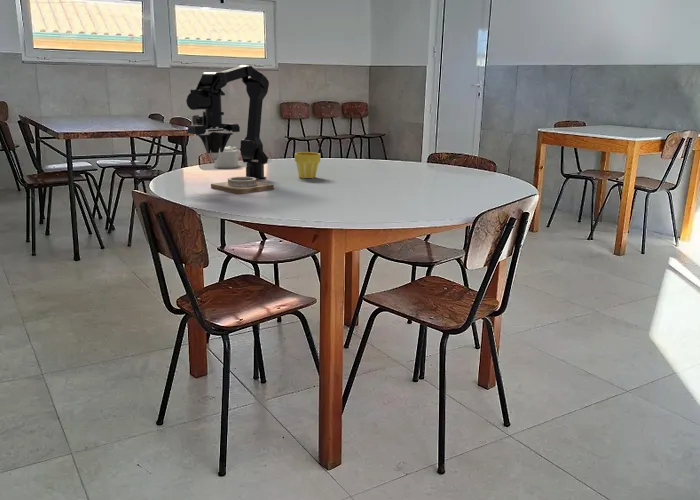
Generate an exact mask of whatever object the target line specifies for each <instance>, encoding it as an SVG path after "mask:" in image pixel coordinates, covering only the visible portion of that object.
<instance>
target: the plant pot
mask: <svg viewBox="0 0 700 500" xmlns="http://www.w3.org/2000/svg"><path fill="white" fill-rule="evenodd" d="M294 162H295V163H296V167H297V174H298V177H299V178H300V177H301V178H300V179H304V178H312V179H315V178H316V176H317V171H318V166H319V163H321V153H319V152H311V151H300V152H299V151H298V152H295V153H294ZM314 177H315V178H314Z"/></svg>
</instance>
